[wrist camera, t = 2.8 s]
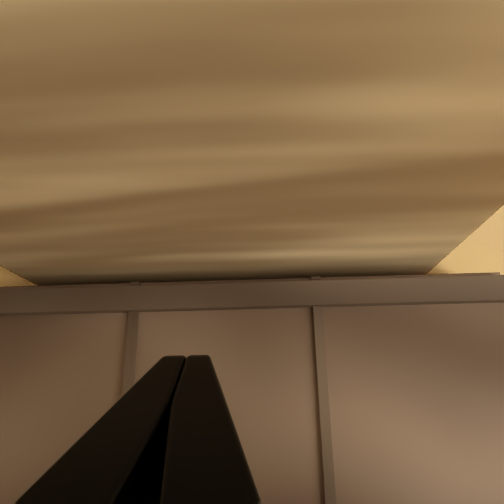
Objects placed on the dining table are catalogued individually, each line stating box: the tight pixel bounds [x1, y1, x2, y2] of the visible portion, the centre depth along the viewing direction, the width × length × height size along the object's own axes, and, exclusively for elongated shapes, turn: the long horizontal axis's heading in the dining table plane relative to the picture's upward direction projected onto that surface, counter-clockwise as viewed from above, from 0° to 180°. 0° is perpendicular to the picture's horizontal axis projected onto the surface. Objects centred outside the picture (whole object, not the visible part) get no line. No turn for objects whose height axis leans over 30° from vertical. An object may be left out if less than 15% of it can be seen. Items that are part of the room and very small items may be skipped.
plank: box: [0, 0, 504, 286], centre depth 10 cm, size 2×14×16 cm, turn 91°
